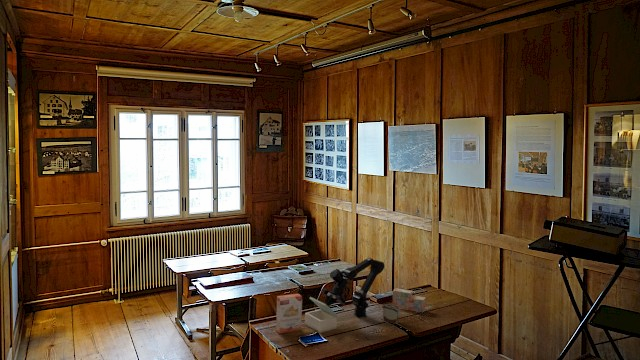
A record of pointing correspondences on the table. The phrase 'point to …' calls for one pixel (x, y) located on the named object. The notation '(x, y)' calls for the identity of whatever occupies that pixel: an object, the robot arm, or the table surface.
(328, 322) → the chest
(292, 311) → the cracker box
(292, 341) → the table surface
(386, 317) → the food container
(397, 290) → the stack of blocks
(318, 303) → the chest lid
